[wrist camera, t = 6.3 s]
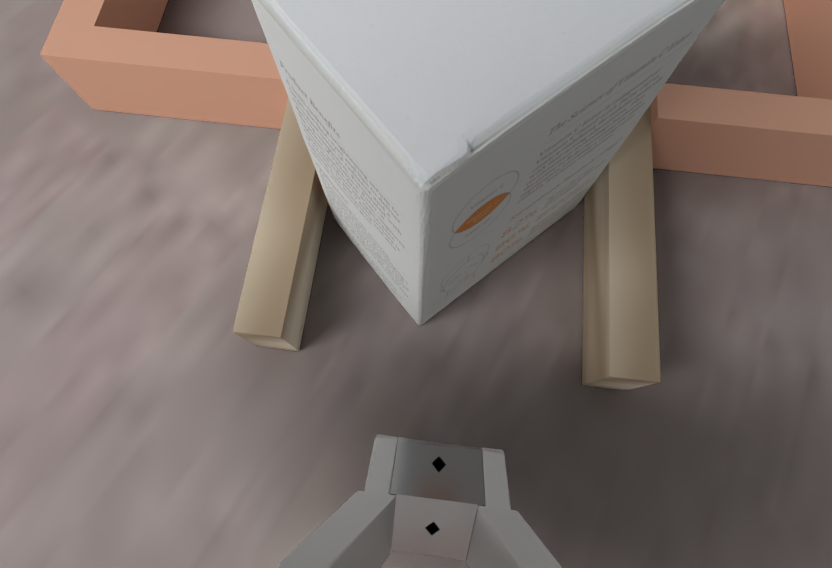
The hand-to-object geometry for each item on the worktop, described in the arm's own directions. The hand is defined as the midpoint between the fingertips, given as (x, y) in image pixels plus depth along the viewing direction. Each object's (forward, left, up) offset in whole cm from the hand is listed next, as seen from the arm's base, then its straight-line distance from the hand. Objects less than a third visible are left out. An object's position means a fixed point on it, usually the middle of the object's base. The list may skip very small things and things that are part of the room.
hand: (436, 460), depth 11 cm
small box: (0, +9, -5) cm, 10 cm away
